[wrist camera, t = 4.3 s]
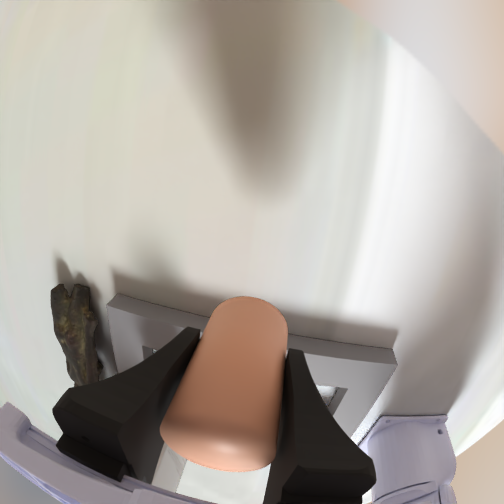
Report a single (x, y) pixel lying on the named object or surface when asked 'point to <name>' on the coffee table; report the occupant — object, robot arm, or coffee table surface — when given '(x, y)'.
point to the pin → (231, 389)
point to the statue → (76, 333)
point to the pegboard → (315, 350)
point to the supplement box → (168, 469)
